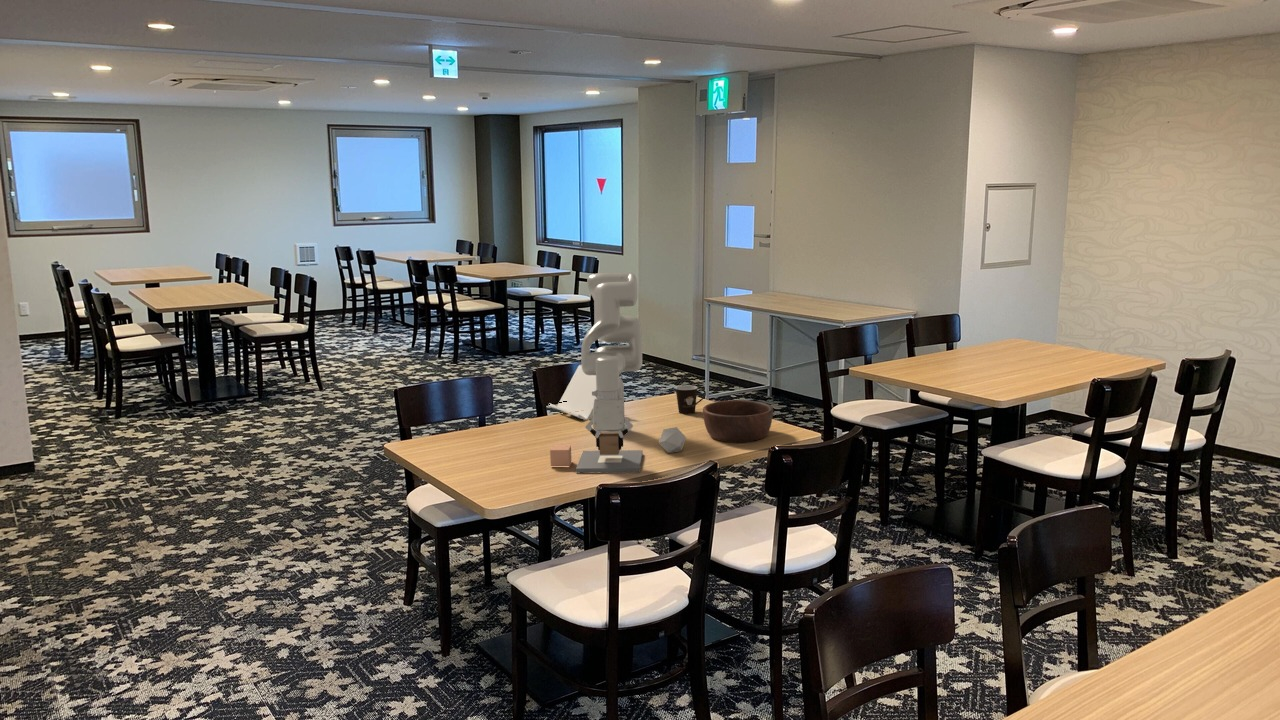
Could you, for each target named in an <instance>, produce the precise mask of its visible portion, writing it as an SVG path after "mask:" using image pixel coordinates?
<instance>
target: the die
mask: <svg viewBox="0 0 1280 720" xmlns="http://www.w3.org/2000/svg"><path fill="white" fill-rule="evenodd" d="M686 439H687V436H686V435H685V434H684V433H683V432H682V431H681V430H680V429H679V428H678V427H677V426H676V427H674V426H673V427H669V428H663V430H662V432H661V435H660V438H659V440H658V444H659V445H660V446H661V448H663V449H664V451H666V453H668V454H670V453H677V452H681V451H682V450H683V447H684V445H685V442H686Z"/></svg>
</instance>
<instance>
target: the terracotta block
mask: <svg viewBox="0 0 1280 720" xmlns="http://www.w3.org/2000/svg"><path fill="white" fill-rule="evenodd" d="M549 455H550V467H551V466H571V465H570V463H571V461H573V460H572V445H571V444H553V445H552V446H551V447H550V450H549ZM571 464H572V463H571Z"/></svg>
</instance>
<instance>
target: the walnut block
mask: <svg viewBox="0 0 1280 720" xmlns="http://www.w3.org/2000/svg"><path fill="white" fill-rule="evenodd" d="M618 438H619V434H618V432H601V433H600V436H599V441H600V450H599V451H600V455H619V451H620V450H619V440H618Z"/></svg>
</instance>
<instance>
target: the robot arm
mask: <svg viewBox="0 0 1280 720" xmlns="http://www.w3.org/2000/svg"><path fill="white" fill-rule="evenodd" d="M586 284H587V288H588V289H587V290H588V292H589V293H590V295H591V297H592V299H593V301H594V302H593V306H594V307H593V309H594V311H593V312H594V313H593V315H594V317H593V318H594V319H593V320H594V322H593V323H594V324H593V326H592V327H591V328H590V329H589V330H588V331H587V332H586V334H585V335H584V338H583V339H582V343H581V348H580V349H581V351H580V352H581V359H580V360H581V361H580V362H581V364H580V365H582V370H583V372H584V373H585V374H586V375H596V391H594V392H592V396H596V399H595V400H594V405H593V419H591V420H589V422H588V423H586V425H585V426H584V427H585V429H586V430H587V431H588V432H590V434H591V435H592V436H594V438H595V446H596V448H598V450H597V451H600V441H599V436H600V434H601V432H618V434H619V438H618V440H619V450H622V448H623V447H624V437H625V436H626V435H627V434H628V433H629V432H630V431H631V430H632V428H633V427H634V424H633V423H632V422H631V421H630V420H629V419H627V418H626V416H625V390H624V382H623V379H622V378H621V377H620V375H621V374H622V373H623V372H637V371H639V370H641V368H642V366H643V340H642V339H643V338H642V324H641V321H640V320H639V318H638V317H636V316H632V315H624V316H622V315H621V308H622V307H624V308H625V307H634V306H635V305H636V304H637V301H638V279H637V277H636V275H635V274H634V273H633V272H598V273H592V274H590V275H589V276H588V277H587V282H586ZM598 340H599V341H600V342H601V343H604V344H605V343H606V344H620V343H621V344H622V343H624V344H625V343H628V344H629V345H628V344H626V345H603V346H600V347H598V348H597V349H595V351H594V352H591V351H590V350H591V346H592V344H594V343H595V342H596V341H598Z"/></svg>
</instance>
